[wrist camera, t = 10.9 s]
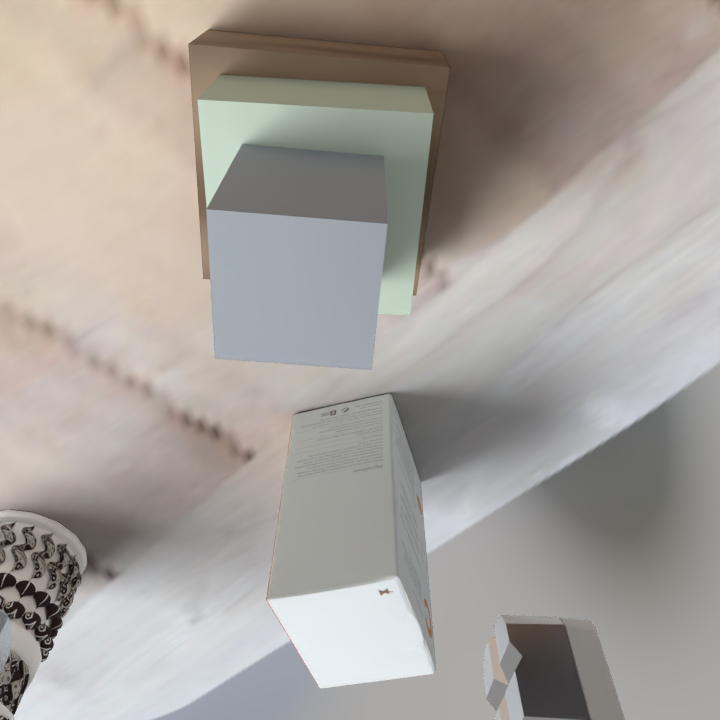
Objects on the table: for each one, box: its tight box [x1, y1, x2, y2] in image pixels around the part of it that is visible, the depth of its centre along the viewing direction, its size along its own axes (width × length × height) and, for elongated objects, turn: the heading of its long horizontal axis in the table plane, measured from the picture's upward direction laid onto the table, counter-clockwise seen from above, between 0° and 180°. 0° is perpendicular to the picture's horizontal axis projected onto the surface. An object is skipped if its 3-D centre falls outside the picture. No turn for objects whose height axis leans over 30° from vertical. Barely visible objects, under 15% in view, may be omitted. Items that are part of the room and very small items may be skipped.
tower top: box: [197, 75, 434, 315], centre depth 26 cm, size 8×8×4 cm
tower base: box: [189, 30, 450, 295], centre depth 29 cm, size 10×10×4 cm
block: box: [206, 144, 388, 370], centre depth 22 cm, size 5×5×6 cm
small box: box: [266, 394, 436, 688], centre depth 36 cm, size 8×6×13 cm
